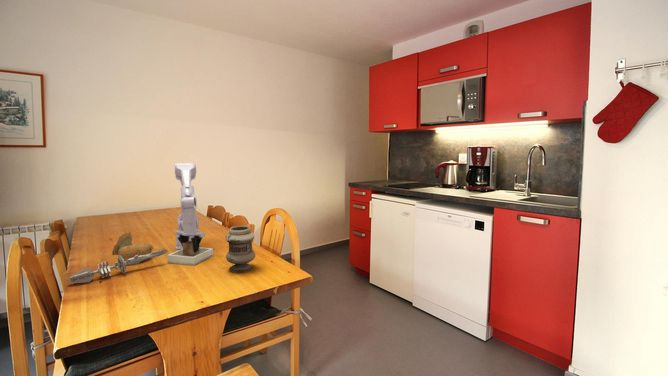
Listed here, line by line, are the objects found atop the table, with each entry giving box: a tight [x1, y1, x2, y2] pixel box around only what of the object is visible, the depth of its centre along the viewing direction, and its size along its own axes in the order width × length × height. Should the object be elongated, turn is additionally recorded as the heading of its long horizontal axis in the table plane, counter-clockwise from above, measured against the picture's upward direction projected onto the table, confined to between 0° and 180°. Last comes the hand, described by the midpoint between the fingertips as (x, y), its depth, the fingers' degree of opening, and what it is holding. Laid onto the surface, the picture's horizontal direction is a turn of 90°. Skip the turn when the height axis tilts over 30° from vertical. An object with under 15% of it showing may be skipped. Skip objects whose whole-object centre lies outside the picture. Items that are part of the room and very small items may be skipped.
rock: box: [111, 231, 133, 255], centre depth 162 cm, size 10×8×10 cm
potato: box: [117, 242, 154, 261], centre depth 148 cm, size 10×14×8 cm
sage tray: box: [166, 246, 214, 266], centre depth 151 cm, size 14×14×4 cm
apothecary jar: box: [225, 225, 256, 274], centre depth 138 cm, size 12×12×18 cm
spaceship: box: [67, 248, 168, 284], centre depth 133 cm, size 8×35×8 cm
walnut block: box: [183, 241, 200, 257], centre depth 151 cm, size 5×5×6 cm
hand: (190, 251), depth 151 cm, fingers closed on walnut block, 5 cm apart
